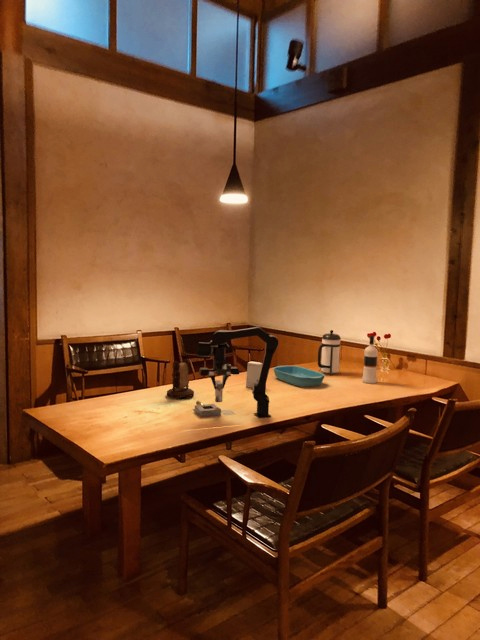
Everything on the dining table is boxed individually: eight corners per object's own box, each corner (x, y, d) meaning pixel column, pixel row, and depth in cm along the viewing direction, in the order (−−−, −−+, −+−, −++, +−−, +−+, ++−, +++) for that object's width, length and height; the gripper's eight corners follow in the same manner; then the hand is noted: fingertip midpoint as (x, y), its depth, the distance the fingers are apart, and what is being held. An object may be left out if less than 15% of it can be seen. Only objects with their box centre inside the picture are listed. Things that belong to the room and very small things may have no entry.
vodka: (360, 382, 330) (363, 335, 327) (363, 380, 338) (366, 334, 335) (375, 384, 326) (377, 337, 323) (378, 381, 334) (380, 335, 331)
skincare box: (245, 387, 309) (246, 362, 307) (249, 385, 314) (250, 360, 313) (259, 388, 306) (259, 364, 304) (262, 386, 311) (263, 362, 310)
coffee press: (316, 370, 364) (318, 328, 361) (340, 372, 362) (342, 329, 358) (317, 375, 347) (319, 331, 343) (341, 377, 345) (343, 332, 341)
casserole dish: (331, 386, 319) (331, 374, 318) (302, 390, 307) (303, 378, 306) (293, 374, 350) (294, 364, 349) (266, 377, 338) (267, 366, 337)
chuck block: (220, 416, 248) (221, 409, 248) (200, 418, 244) (201, 411, 244) (207, 405, 266) (207, 398, 266) (188, 407, 263) (188, 400, 262)
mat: (236, 415, 251) (236, 414, 251) (225, 416, 249) (225, 415, 249) (230, 410, 258) (230, 409, 258) (219, 411, 256) (219, 410, 256)
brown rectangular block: (221, 399, 256) (221, 380, 255) (223, 403, 248) (223, 384, 247) (214, 399, 255) (214, 380, 254) (216, 403, 247) (216, 384, 246)
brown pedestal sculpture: (179, 401, 273) (179, 363, 271) (161, 395, 283) (161, 359, 281) (199, 396, 284) (200, 360, 282) (181, 391, 294) (182, 356, 292)
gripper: (202, 360, 239) (202, 393, 241) (242, 359, 243) (241, 391, 245) (199, 356, 250) (198, 387, 252) (236, 355, 254) (236, 386, 256)
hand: (218, 388), depth 251 cm, fingers closed on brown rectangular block, 3 cm apart
